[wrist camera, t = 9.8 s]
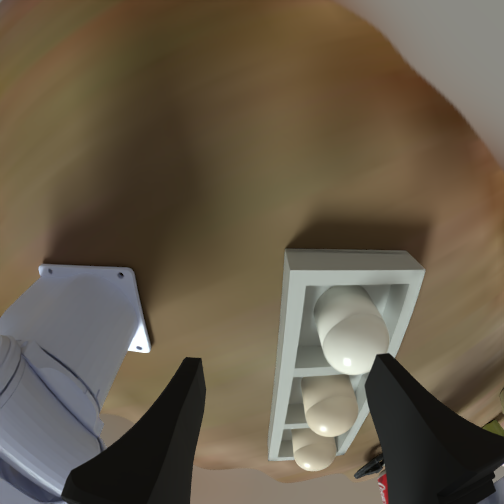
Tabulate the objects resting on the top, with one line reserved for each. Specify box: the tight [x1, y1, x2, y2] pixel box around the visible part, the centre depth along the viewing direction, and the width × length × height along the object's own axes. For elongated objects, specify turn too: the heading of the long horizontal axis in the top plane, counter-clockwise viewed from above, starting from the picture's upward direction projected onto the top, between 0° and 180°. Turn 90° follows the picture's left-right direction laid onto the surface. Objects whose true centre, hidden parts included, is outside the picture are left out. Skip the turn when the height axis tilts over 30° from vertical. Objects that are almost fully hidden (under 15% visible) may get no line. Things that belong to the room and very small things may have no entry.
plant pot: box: [483, 420, 504, 436], centre depth 31 cm, size 9×9×9 cm
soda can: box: [378, 470, 388, 504], centre depth 32 cm, size 7×7×13 cm
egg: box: [313, 285, 390, 375], centre depth 17 cm, size 4×4×6 cm
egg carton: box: [268, 249, 425, 471], centre depth 21 cm, size 9×25×6 cm, turn 179°
